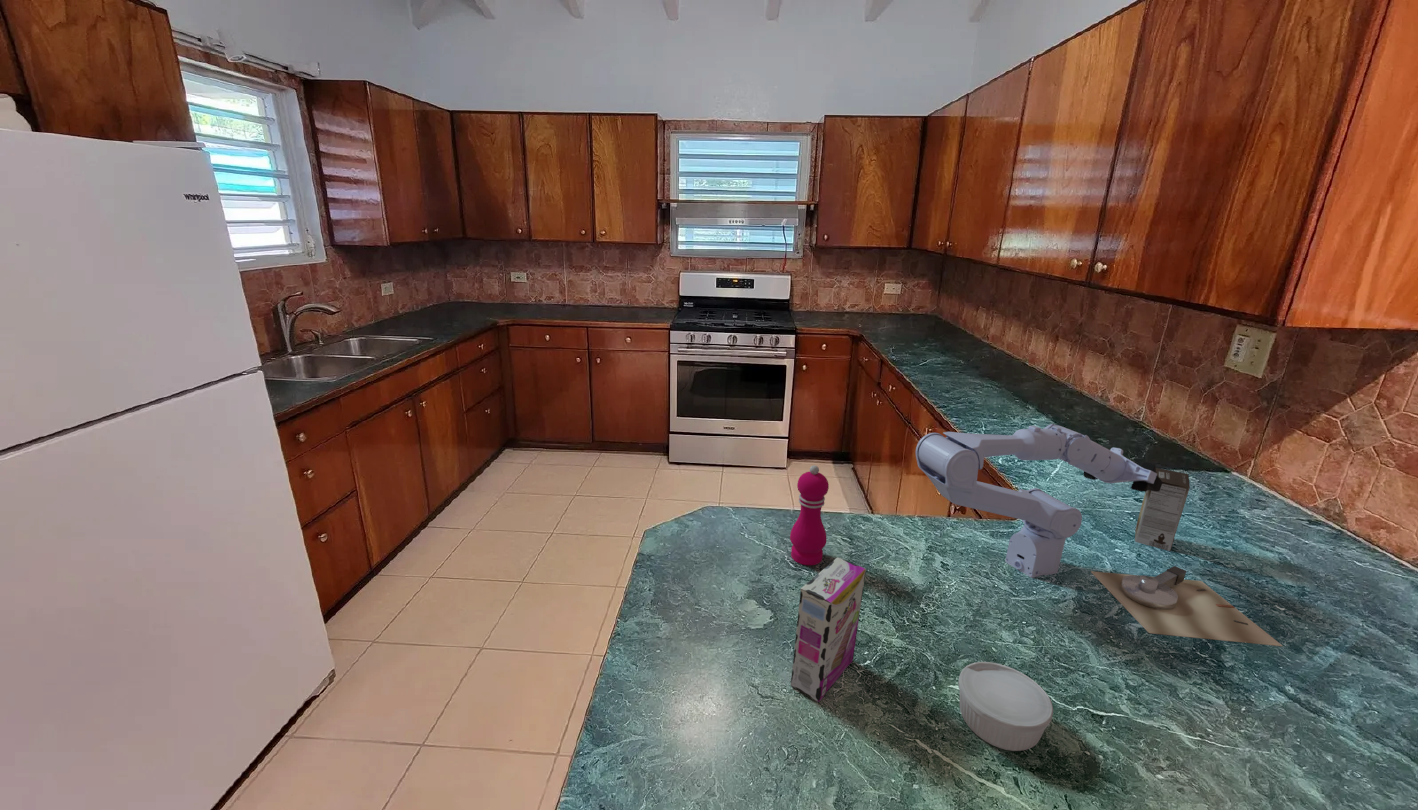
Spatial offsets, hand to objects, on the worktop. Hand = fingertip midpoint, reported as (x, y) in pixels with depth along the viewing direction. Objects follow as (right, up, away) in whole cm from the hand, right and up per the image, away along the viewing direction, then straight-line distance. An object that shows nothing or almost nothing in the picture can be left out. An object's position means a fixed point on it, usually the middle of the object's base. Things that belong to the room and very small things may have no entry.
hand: (1138, 481), depth 111 cm
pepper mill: (-66, -16, +2) cm, 68 cm away
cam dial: (-3, -19, -8) cm, 21 cm away
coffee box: (+12, -15, +11) cm, 22 cm away
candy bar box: (-69, -25, -29) cm, 78 cm away
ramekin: (-47, -28, -36) cm, 65 cm away
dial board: (-2, -21, -12) cm, 24 cm away
